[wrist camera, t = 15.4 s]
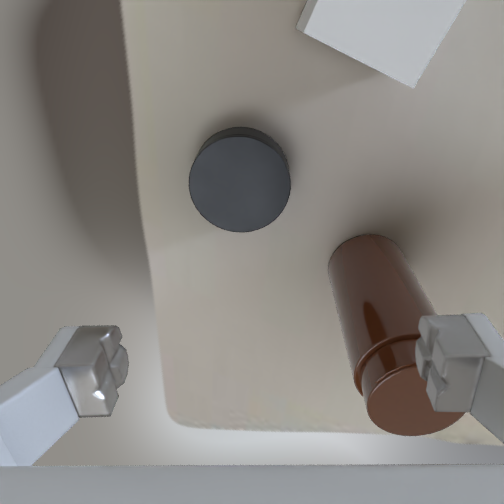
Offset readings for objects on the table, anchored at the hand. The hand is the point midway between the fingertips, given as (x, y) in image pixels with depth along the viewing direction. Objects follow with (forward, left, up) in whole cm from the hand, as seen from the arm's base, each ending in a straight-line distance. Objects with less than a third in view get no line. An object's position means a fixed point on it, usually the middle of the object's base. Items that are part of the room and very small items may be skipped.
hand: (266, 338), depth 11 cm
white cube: (+1, -10, -19) cm, 22 cm away
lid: (0, +3, -17) cm, 17 cm away
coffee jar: (-12, +3, -19) cm, 23 cm away
